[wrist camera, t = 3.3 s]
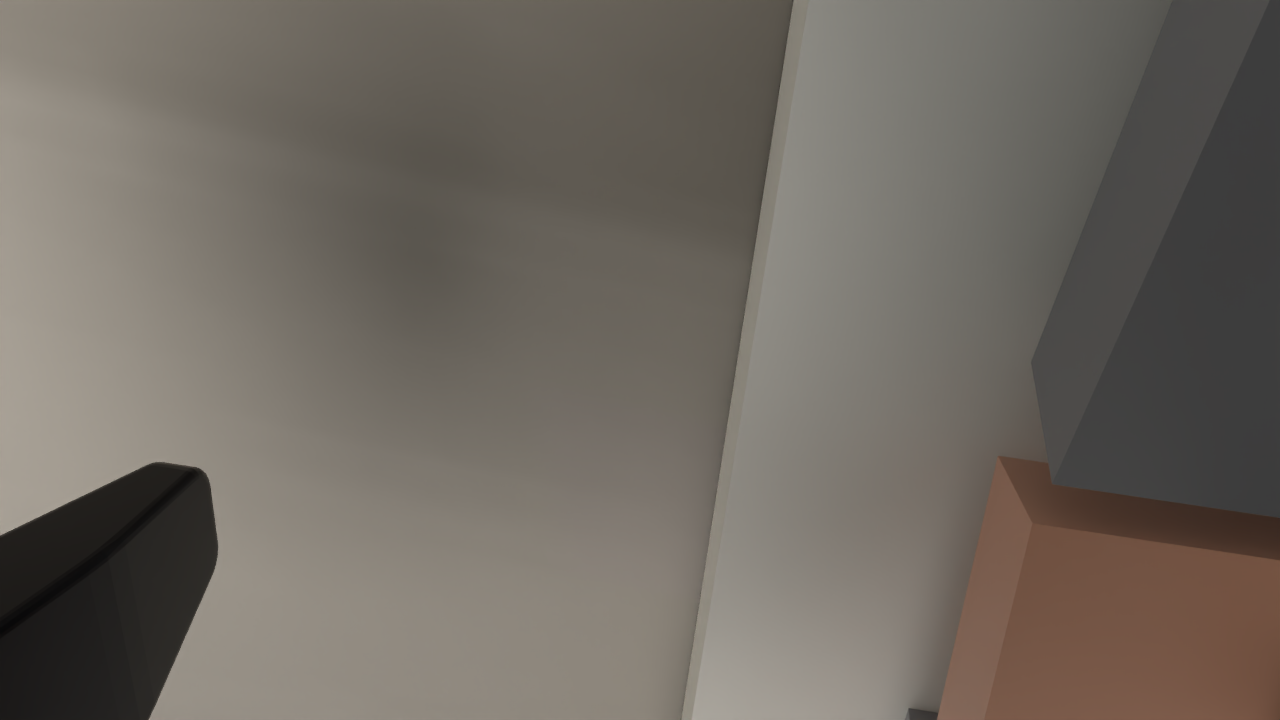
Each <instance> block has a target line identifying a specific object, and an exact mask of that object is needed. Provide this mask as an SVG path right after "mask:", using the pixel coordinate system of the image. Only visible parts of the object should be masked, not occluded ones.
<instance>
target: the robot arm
mask: <svg viewBox="0 0 1280 720" xmlns="http://www.w3.org/2000/svg"><path fill="white" fill-rule="evenodd" d="M217 555H218V540H217V533H216V525H215V518H214V510H213V503H212V495H211V488H210V483H209V479H208V477H207V475H206V473H205V472H204V471H202V470H201V469H199V468H197V467H191V466H185V465H178V464H172V463H165V462H155V463H151V464H149V465H146V466H144V467H142V468H140V469H138V470H136V471H134V472H132V473H129V474H127V475H125V476H123V477H121V478H119V479H117V480H115V481H113V482H111V483H109V484H107V485H105V486H102V487H100V488H98V489H96V490H94V491H92V492H90V493H88V494H86V495H84V496H82V497H80V498H78V499H75V500H73V501H71V502H69V503H67V504H65V505H63V506H61V507H59V508H57V509H55V510H53V511H50V512H48V513H46V514H44V515H42V516H40V517H38V518H36V519H34V520H32V521H30V522H28V523H26V524H23V525H21V526H19V527H17V528H15V529H13V530H11V531H9V532H7V533H5V534H3V535H1V536H0V720H149V718H150V715H151V713H152V711H153V709H154V707H155V705H156V702H157V700H158V698H159V696H160V693H161V691H162V689H163V687H164V684H165V682H166V680H167V677H168V675H169V673H170V671H171V668H172V666H173V664H174V661H175V659H176V657H177V655H178V652H179V650H180V648H181V645H182V643H183V641H184V639H185V636H186V634H187V632H188V630H189V627H190V625H191V623H192V620H193V618H194V616H195V614H196V611H197V609H198V607H199V604H200V602H201V600H202V598H203V595H204V593H205V591H206V588H207V586H208V584H209V582H210V579H211V577H212V575H213V572H214V569H215V565H216V561H217Z"/></svg>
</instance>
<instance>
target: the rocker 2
mask: <svg viewBox="0 0 1280 720" xmlns="http://www.w3.org/2000/svg"><path fill="white" fill-rule="evenodd" d="M937 720H1280V518H1278V517H1271V516H1264V515H1257V514H1250V513H1244V512H1237V511H1230V510H1223V509H1217V508H1210V507H1203V506H1196V505H1189V504H1183V503H1176V502H1169V501H1162V500H1156V499H1149V498H1142V497H1135V496H1128V495H1122V494H1115V493H1108V492H1101V491H1094V490H1088V489H1081V488H1074V487H1067V486H1061V485H1054V484H1052V481H1051V475H1050V470H1049V464H1048V463H1045V462H1038V461H1031V460H1024V459H1017V458H1010V457H1004V456H998V457H997V462H996V466H995V470H994V475H993V479H992V483H991V487H990V492H989V496H988V500H987V505H986V509H985V513H984V518H983V522H982V526H981V531H980V535H979V539H978V544H977V548H976V552H975V557H974V561H973V565H972V570H971V574H970V578H969V583H968V587H967V591H966V596H965V600H964V604H963V609H962V613H961V617H960V622H959V626H958V630H957V635H956V639H955V643H954V648H953V652H952V656H951V661H950V665H949V669H948V674H947V678H946V682H945V687H944V691H943V695H942V700H941V704H940V708H939V713H938V717H937Z"/></svg>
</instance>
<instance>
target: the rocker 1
mask: <svg viewBox="0 0 1280 720" xmlns="http://www.w3.org/2000/svg"><path fill="white" fill-rule="evenodd" d="M1031 365H1032V371H1033V377H1034V382H1035V388H1036V394H1037V400H1038V406H1039V412H1040V417H1041V423H1042V429H1043V435H1044V441H1045V446H1046V452H1047V458H1048V464H1049V470H1050V475H1051V481H1052V484H1054V485H1061V486H1067V487H1074V488H1081V489H1088V490H1094V491H1101V492H1108V493H1115V494H1122V495H1128V496H1135V497H1142V498H1149V499H1156V500H1162V501H1169V502H1176V503H1183V504H1189V505H1196V506H1203V507H1210V508H1217V509H1223V510H1230V511H1237V512H1244V513H1250V514H1257V515H1264V516H1271V517H1278V518H1280V0H1172V3H1171V5H1170V8H1169V10H1168V13H1167V15H1166V18H1165V21H1164V23H1163V26H1162V28H1161V31H1160V33H1159V36H1158V38H1157V41H1156V44H1155V46H1154V49H1153V51H1152V54H1151V56H1150V59H1149V61H1148V64H1147V67H1146V69H1145V72H1144V74H1143V77H1142V79H1141V82H1140V84H1139V87H1138V90H1137V92H1136V95H1135V97H1134V100H1133V102H1132V105H1131V107H1130V110H1129V113H1128V115H1127V118H1126V120H1125V123H1124V125H1123V128H1122V131H1121V133H1120V136H1119V138H1118V141H1117V143H1116V146H1115V148H1114V151H1113V154H1112V156H1111V159H1110V161H1109V164H1108V166H1107V169H1106V171H1105V174H1104V177H1103V179H1102V182H1101V184H1100V187H1099V189H1098V192H1097V194H1096V197H1095V200H1094V202H1093V205H1092V207H1091V210H1090V212H1089V215H1088V217H1087V220H1086V223H1085V225H1084V228H1083V230H1082V233H1081V235H1080V238H1079V240H1078V243H1077V246H1076V248H1075V251H1074V253H1073V256H1072V258H1071V261H1070V264H1069V266H1068V269H1067V271H1066V274H1065V276H1064V279H1063V281H1062V284H1061V287H1060V289H1059V292H1058V294H1057V297H1056V299H1055V302H1054V304H1053V307H1052V310H1051V312H1050V315H1049V317H1048V320H1047V322H1046V325H1045V327H1044V330H1043V333H1042V335H1041V338H1040V340H1039V343H1038V345H1037V348H1036V350H1035V353H1034V356H1033V358H1032V361H1031Z"/></svg>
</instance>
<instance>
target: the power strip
mask: <svg viewBox="0 0 1280 720" xmlns="http://www.w3.org/2000/svg"><path fill="white" fill-rule="evenodd" d="M1171 3H1172V0H793V7H792V13H791V20H790V26H789V32H788V39H787V45H786V52H785V58H784V64H783V71H782V77H781V84H780V90H779V96H778V103H777V109H776V116H775V122H774V128H773V135H772V141H771V148H770V154H769V161H768V167H767V173H766V180H765V186H764V193H763V199H762V205H761V212H760V218H759V225H758V231H757V237H756V244H755V250H754V257H753V263H752V269H751V276H750V282H749V289H748V295H747V302H746V308H745V314H744V321H743V327H742V334H741V340H740V346H739V353H738V359H737V366H736V372H735V378H734V385H733V391H732V398H731V404H730V410H729V417H728V423H727V430H726V436H725V443H724V449H723V455H722V462H721V468H720V475H719V481H718V487H717V494H716V500H715V507H714V513H713V519H712V526H711V532H710V539H709V545H708V552H707V558H706V564H705V571H704V577H703V584H702V590H701V596H700V603H699V609H698V616H697V622H696V628H695V635H694V641H693V648H692V654H691V660H690V667H689V673H688V680H687V686H686V693H685V699H684V705H683V712H682V718H681V720H937V717H938V713H939V708H940V704H941V700H942V695H943V691H944V687H945V682H946V678H947V674H948V669H949V665H950V661H951V656H952V652H953V648H954V643H955V639H956V635H957V630H958V626H959V622H960V617H961V613H962V609H963V604H964V600H965V596H966V591H967V587H968V583H969V578H970V574H971V570H972V565H973V561H974V557H975V552H976V548H977V544H978V539H979V535H980V531H981V526H982V522H983V518H984V513H985V509H986V505H987V500H988V496H989V492H990V487H991V483H992V479H993V475H994V470H995V466H996V462H997V457H998V456H1004V457H1010V458H1017V459H1024V460H1031V461H1038V462H1045V463H1048V458H1047V452H1046V446H1045V441H1044V435H1043V429H1042V423H1041V417H1040V412H1039V406H1038V400H1037V394H1036V388H1035V382H1034V377H1033V371H1032V365H1031V361H1032V358H1033V356H1034V353H1035V350H1036V348H1037V345H1038V343H1039V340H1040V338H1041V335H1042V333H1043V330H1044V327H1045V325H1046V322H1047V320H1048V317H1049V315H1050V312H1051V310H1052V307H1053V304H1054V302H1055V299H1056V297H1057V294H1058V292H1059V289H1060V287H1061V284H1062V281H1063V279H1064V276H1065V274H1066V271H1067V269H1068V266H1069V264H1070V261H1071V258H1072V256H1073V253H1074V251H1075V248H1076V246H1077V243H1078V240H1079V238H1080V235H1081V233H1082V230H1083V228H1084V225H1085V223H1086V220H1087V217H1088V215H1089V212H1090V210H1091V207H1092V205H1093V202H1094V200H1095V197H1096V194H1097V192H1098V189H1099V187H1100V184H1101V182H1102V179H1103V177H1104V174H1105V171H1106V169H1107V166H1108V164H1109V161H1110V159H1111V156H1112V154H1113V151H1114V148H1115V146H1116V143H1117V141H1118V138H1119V136H1120V133H1121V131H1122V128H1123V125H1124V123H1125V120H1126V118H1127V115H1128V113H1129V110H1130V107H1131V105H1132V102H1133V100H1134V97H1135V95H1136V92H1137V90H1138V87H1139V84H1140V82H1141V79H1142V77H1143V74H1144V72H1145V69H1146V67H1147V64H1148V61H1149V59H1150V56H1151V54H1152V51H1153V49H1154V46H1155V44H1156V41H1157V38H1158V36H1159V33H1160V31H1161V28H1162V26H1163V23H1164V21H1165V18H1166V15H1167V13H1168V10H1169V8H1170V5H1171Z"/></svg>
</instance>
